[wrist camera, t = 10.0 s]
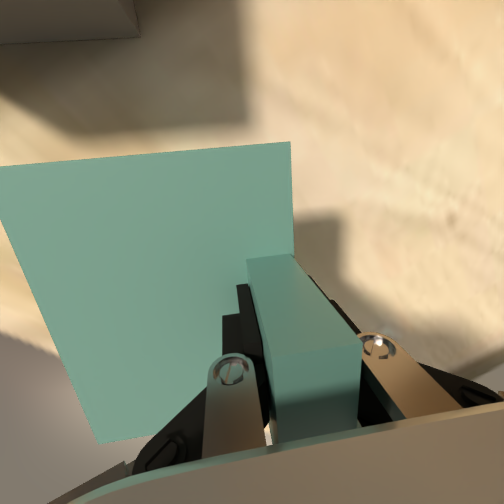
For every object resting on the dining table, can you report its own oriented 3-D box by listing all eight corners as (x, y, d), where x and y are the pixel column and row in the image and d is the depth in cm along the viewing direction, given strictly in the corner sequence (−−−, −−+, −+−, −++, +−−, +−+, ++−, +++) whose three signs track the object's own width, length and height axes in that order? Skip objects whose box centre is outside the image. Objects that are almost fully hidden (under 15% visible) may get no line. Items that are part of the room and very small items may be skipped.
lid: (279, 145, 11) (393, 97, 4) (291, 382, 16) (351, 568, 8) (18, 168, 10) (-507, 164, 3) (112, 413, 15) (4, 651, 7)
